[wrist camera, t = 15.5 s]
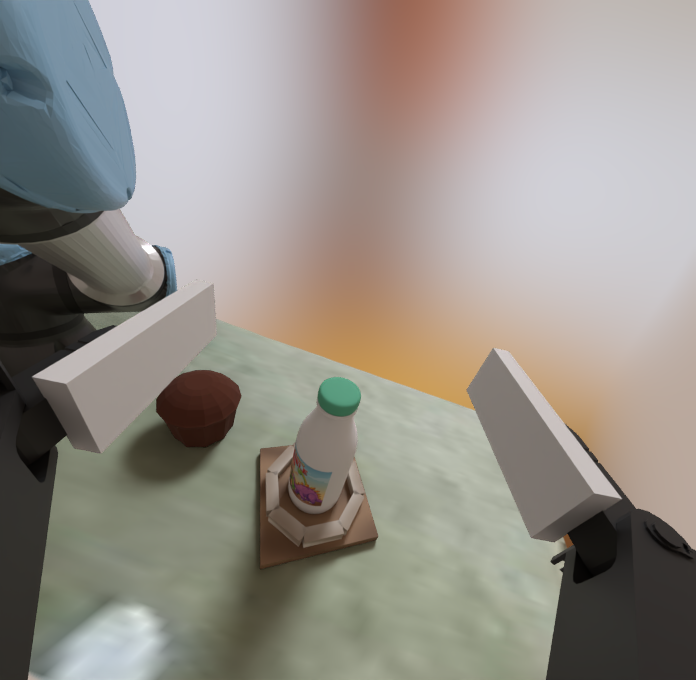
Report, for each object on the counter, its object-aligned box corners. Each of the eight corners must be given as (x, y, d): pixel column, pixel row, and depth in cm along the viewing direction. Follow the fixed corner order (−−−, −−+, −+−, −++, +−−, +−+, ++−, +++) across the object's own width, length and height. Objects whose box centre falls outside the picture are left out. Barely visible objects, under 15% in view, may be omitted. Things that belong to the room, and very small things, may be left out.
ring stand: (260, 453, 42) (260, 442, 41) (347, 443, 47) (351, 433, 46) (260, 569, 31) (260, 560, 29) (375, 539, 36) (381, 531, 34)
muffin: (253, 410, 49) (254, 369, 44) (218, 464, 40) (213, 421, 34) (193, 392, 49) (187, 350, 44) (144, 442, 40) (129, 396, 35)
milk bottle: (326, 455, 43) (352, 361, 32) (349, 501, 38) (390, 407, 27) (280, 473, 39) (293, 373, 28) (299, 527, 34) (324, 429, 23)
